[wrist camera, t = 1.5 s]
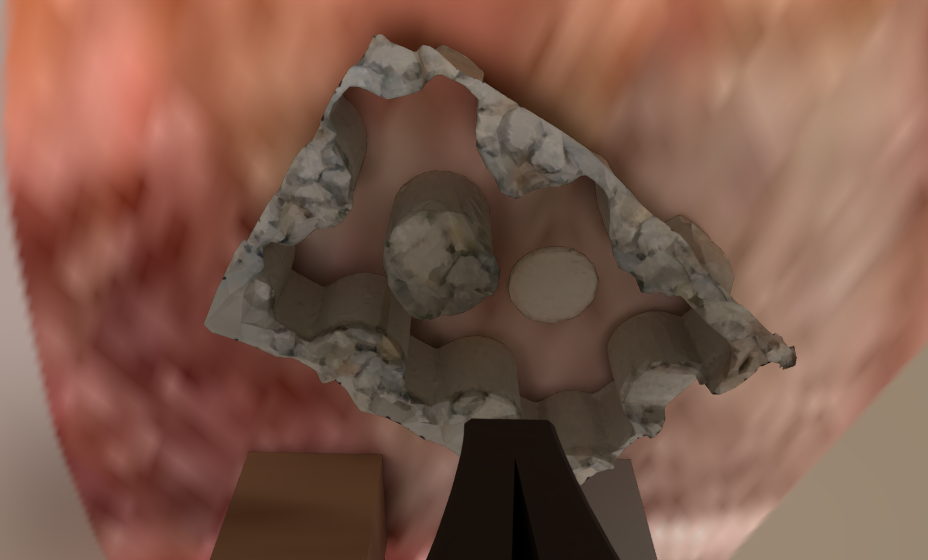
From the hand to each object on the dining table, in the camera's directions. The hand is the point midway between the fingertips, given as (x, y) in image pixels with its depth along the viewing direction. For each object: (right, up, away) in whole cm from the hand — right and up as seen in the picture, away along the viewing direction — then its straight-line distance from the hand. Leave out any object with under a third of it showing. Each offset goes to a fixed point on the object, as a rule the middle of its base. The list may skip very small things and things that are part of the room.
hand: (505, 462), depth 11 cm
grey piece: (0, +4, +6) cm, 7 cm away
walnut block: (-5, -4, +10) cm, 12 cm away
